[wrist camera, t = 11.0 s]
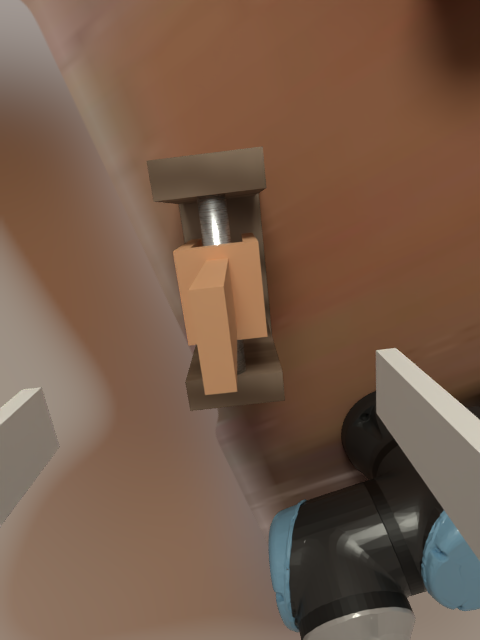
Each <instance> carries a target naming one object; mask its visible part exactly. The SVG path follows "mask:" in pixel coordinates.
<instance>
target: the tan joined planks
mask: <svg viewBox="0 0 480 640" xmlns="http://www.w3.org/2000/svg"><path fill="white" fill-rule="evenodd" d="M241 235H242V242H236V243H227V244H219V245H210V246H203V245H202V238H201V239H192V240H190V241H188V242H187V243H185V244H184V245H182V246H181V247H179V248H178V249H176V250H175V251H173V255H174V261H175V267H176V273H177V279H178V285H179V291H180V297H181V303H182V309H183V315H184V321H185V327H186V333H187V339H188V345H197V347H198V353H199V360H200V366H201V372H202V378H203V385H204V391H205V395H210V394H220V393H229V392H237V340H242V339H251V338H260V337H268V336H267V326H266V316H265V306H264V295H263V285H262V275H261V265H260V255H259V244H258V241H257V239H256V237H255V236H254V234H253V233H243V234H241Z"/></svg>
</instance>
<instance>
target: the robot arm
mask: <svg viewBox="0 0 480 640" xmlns="http://www.w3.org/2000/svg"><path fill="white" fill-rule="evenodd" d="M341 437H342V443H343V447H344V449H345V451H346V453H347V455H348V458H349V459H350V461H351V462H352V464H353V465H354V466H355V467H356V468H357V469H358V470H359V471H360V472H362V473H363V474H364V475H365V476H366V477H367V478H368V479H369V480H368V481H365V482H362V483H358V484H355V485H352V486H349V487H346V488H343V489H340V490H337V491H334V492H331V493H328V494H325V495H322V496H319V497H316V498H313V499H310V500H302V501H300V502H299V503H298V504H297V505H294V506H292V507H289V508H287V509H284V510H282V511H280V512H278V513H277V514H276V515H275V517H274V519H273V521H272V523H271V526H270V531H269V562H270V572H271V579H272V585H273V589H274V591H275V592H276V601H277V606H278V610H279V613H280V616H281V618H282V620H283V622H284V624H285V625H286V626H287V628H289V629H290V630H292V631H295V632H300V636H301V640H410V638H411V634H412V631H413V627H414V623H415V615H414V613H413V611H412V609H411V606H410V604H409V602H408V600H407V597H409V596H412V595H415V594H419V593H422V592H426V591H428V593H429V594H430V595H431V596H432V597H433V598H434V599H435V600H436V601H437V602H439V603H440V604H441V605H443V606H445V607H447V608H449V609H455V608H458V609H459V610H462V611H470V610H476V609H480V407H478V406H476V407H467V408H465V407H464V406H463V405H462V404H461V403H460V402H458V401H457V400H456V399H455V398H454V397H453V396H451V395H450V394H449V393H448V392H447V391H446V390H444V389H443V388H442V387H441V386H440V385H438V384H437V383H436V382H435V381H434V380H433V379H431V378H430V377H429V376H428V375H427V374H426V373H424V372H423V371H422V370H421V369H420V368H419V367H417V366H416V365H415V364H414V363H413V362H412V361H410V360H409V359H408V358H407V357H406V356H405V355H403V354H402V353H401V352H400V351H399V350H398V349H396V348H392V349H383V350H376V391H375V392H372V393H370V394H368V395H367V396H365V397H363V398H362V399H361V400H359V401H358V402H357V403H356V404H355V405H354V406H353V407H352V408H351V409H350V411H349V412H348V414H347V416H346V418H345V420H344V422H343V426H342V432H341ZM59 447H60V446H59V443H58V440H57V436H56V433H55V430H54V427H53V423H52V420H51V417H50V414H49V410H48V407H47V403H46V400H45V397H44V394H43V391H42V388H41V387H40V388H31V389H23V390H22V391H20V392H19V393H18V394H17V395H15V396H14V397H13V398H12V399H11V400H9V401H8V402H7V403H6V404H5V405H3V406H2V407H1V408H0V526H1V525H2V524H3V522H4V521H5V520H6V518H7V517H8V516H9V514H10V513H11V512H12V510H13V509H14V507H15V506H16V505H17V504H18V502H19V501H20V500H21V498H22V497H23V496H24V494H25V493H26V491H27V490H28V489H29V488H30V486H31V485H32V483H33V482H34V481H35V479H36V478H37V477H38V475H39V474H40V472H41V471H42V470H43V469H44V467H45V466H46V465H47V463H48V462H49V461H50V459H51V458H52V457H53V455H54V454H55V453H56V451H57V450H58V449H59Z"/></svg>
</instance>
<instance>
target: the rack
mask: <svg viewBox="0 0 480 640" xmlns="http://www.w3.org/2000/svg"><path fill="white" fill-rule="evenodd" d="M147 166H148V172H149V178H150V183H151V189H152V195H153V200H154V202H164V203H175V204H179V209H180V215H181V222H182V228H183V234H184V241H185V243H187V242H188V241H190V240H192V239H201V238H202V245H203V246H210V245H219V244H227V243H236V242H242V235H241V234H243V233H253V234H254V236H255V237H256V239H257V241H258V244H259V255H260V265H261V275H262V285H263V295H264V306H265V316H266V326H267V336H268V337H260V338H251V339H242V340H237V392H229V393H220V394H210V395H205V391H204V385H203V378H202V372H201V366H200V360H199V353H198V347H197V345H196V347H195V350H194V354H193V358H192V361H191V365H190V368H189V372H188V375H187V379H186V382H185V383H186V388H187V394H188V399H189V405H190V410H191V411H193V410H202V409H211V408H221V407H230V406H239V405H248V404H257V403H266V402H276V401H285V396H284V385H283V373H282V369H281V365H280V362H279V359H278V355H277V352H276V348H275V345H274V342H273V338H272V331H271V320H270V310H269V299H268V288H267V278H266V267H265V256H264V246H263V235H262V224H261V214H260V203H259V192H261V191H262V190H264V189H265V188H266V179H265V168H264V156H263V147H255V148H247V149H239V150H231V151H223V152H215V153H206V154H198V155H190V156H182V157H174V158H166V159H158V160H150V161H147Z"/></svg>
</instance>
